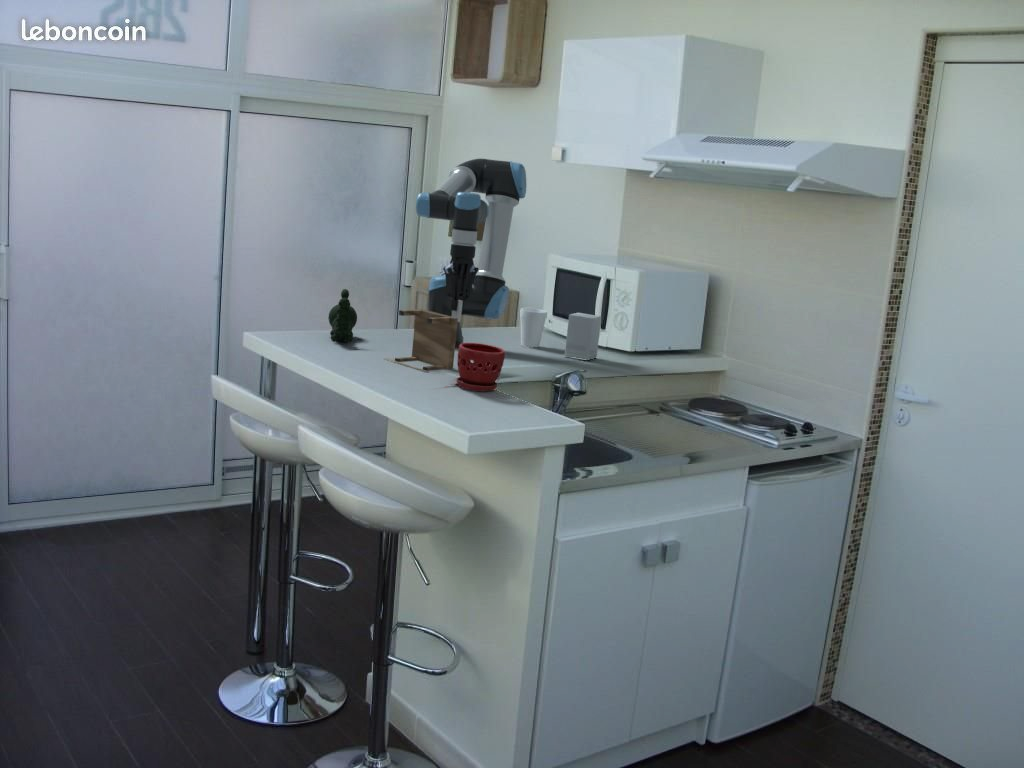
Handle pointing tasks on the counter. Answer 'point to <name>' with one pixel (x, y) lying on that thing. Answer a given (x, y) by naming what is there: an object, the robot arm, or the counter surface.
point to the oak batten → (406, 365)
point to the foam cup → (532, 326)
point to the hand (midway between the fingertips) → (455, 321)
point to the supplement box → (582, 336)
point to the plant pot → (479, 366)
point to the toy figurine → (342, 319)
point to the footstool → (432, 339)
